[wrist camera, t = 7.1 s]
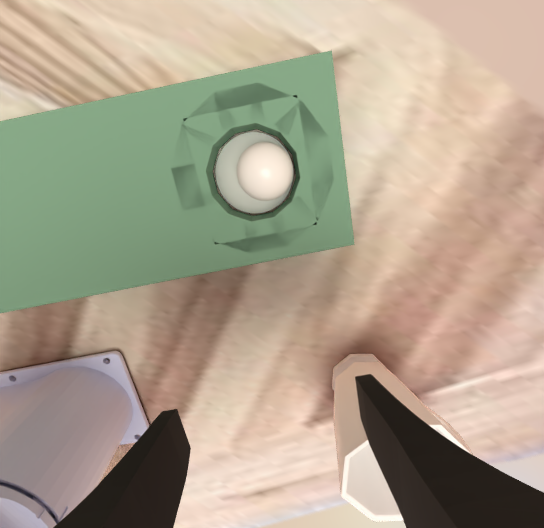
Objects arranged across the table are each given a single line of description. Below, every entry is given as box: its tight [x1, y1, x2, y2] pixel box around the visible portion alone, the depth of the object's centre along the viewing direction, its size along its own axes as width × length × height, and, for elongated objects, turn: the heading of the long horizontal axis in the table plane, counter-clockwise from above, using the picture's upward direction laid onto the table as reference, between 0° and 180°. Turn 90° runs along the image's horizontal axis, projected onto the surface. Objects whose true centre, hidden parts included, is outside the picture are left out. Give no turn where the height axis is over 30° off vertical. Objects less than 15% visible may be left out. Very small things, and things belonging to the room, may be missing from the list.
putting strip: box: [0, 51, 354, 313], centre depth 18 cm, size 24×10×2 cm, turn 101°
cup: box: [332, 354, 473, 521], centre depth 20 cm, size 7×10×8 cm
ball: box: [237, 142, 294, 201], centre depth 17 cm, size 3×3×3 cm
